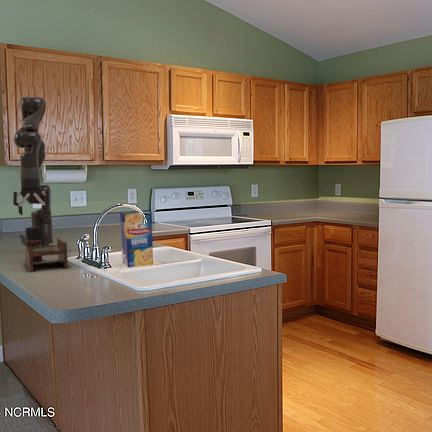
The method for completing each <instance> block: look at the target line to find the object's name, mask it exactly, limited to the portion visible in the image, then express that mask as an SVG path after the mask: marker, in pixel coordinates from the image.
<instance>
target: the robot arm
mask: <svg viewBox="0 0 432 432" xmlns="http://www.w3.org/2000/svg"><path fill="white" fill-rule="evenodd" d="M47 111H48V106H47V101H46V99H45V98H44V97H41V96H22V97H21V98H20V113H21V120H22V121H21V122H22V124H21V127H20V128H19V129H18V130H16V132H15V134H14V136H13V143H14V145H15V146H16V147H17V148H20V149H23V153H22V154H20V156H19V162H20V163H19V164H20V172H19V173H20V174H19V176H20V177H19V178H20V191H13V192H12V193H13V194H12V195H13V196H12V198H13V199H12V200H13V201H12V204H13V206H16V207H17V209H18V214H19V215H20V216H23V215H24V212H23V204H24V203H25V202H27V203H28V204H29V205H39V204H40V205H41V207H40V208H39V209H36V210H33V211H31V212H30V223H31V224H30V225H31V227H40V228H41V245H42V246H45V245H55V244H54V234H53V233H54V231H53V215H52V189H51V186H50V185H49V184H41V179H40V177H41V175H40V169H41V167H42V165H43V164H44V162H45V160H46V156H47V155H46V144H45V141H44V140H43V139H42V136H41V134H40V133H39V132H40V127H41V124H42V122H43V121H44V119H45V117H46V115H47ZM19 196H21V197H22V198H21V200H20V201H19V202H18V197H19ZM19 237H22V243H23V244H25V245H26V246H27V243H26V239H25V235H23V234H19Z"/></svg>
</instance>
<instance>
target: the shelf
mask: <svg viewBox="0 0 432 432" xmlns="http://www.w3.org/2000/svg"><path fill="white" fill-rule="evenodd" d="M56 242H57V244H54V245H45V246H32V247H27V246H25V247H24V253H25V265H26V267H27V268H28V271H29V272H30V273H32V272H34V262H33V257H35V256H42V257H45V256H57V261H58V263H59V264H60V265H61V266H62V267H63V268H64V269H68V268H69V263H68V261H69V260H68V244H67V242H66V241H65V240H64V239H63V238H61V237H56Z"/></svg>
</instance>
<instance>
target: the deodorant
mask: <svg viewBox="0 0 432 432" xmlns="http://www.w3.org/2000/svg"><path fill="white" fill-rule="evenodd" d="M25 242H26V243H27V245H26V247H32V246H42V245H41V228H40V227H32V226H30V227H29V226H28V227H25ZM40 262H43V256H35V257H33V263H40Z"/></svg>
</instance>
